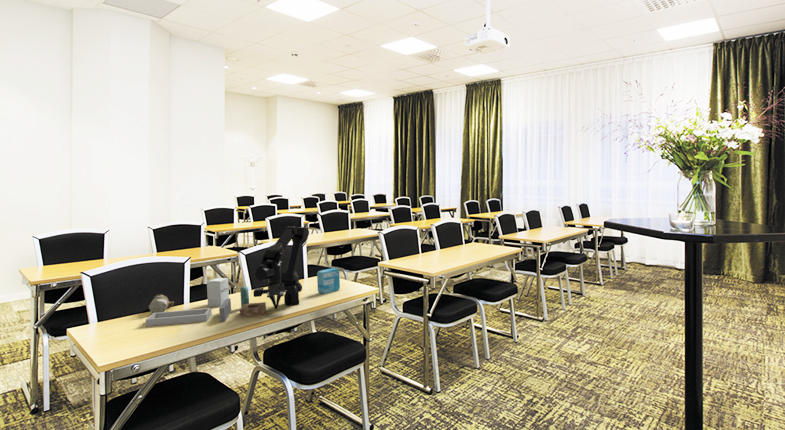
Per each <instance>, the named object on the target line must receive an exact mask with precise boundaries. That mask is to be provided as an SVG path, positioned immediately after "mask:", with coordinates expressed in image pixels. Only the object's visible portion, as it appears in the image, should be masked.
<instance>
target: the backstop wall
mask: <svg viewBox="0 0 785 430" xmlns="http://www.w3.org/2000/svg"><path fill="white" fill-rule="evenodd" d="M231 303H232V301H231V298H229V299H225V301H224V302H223V304H222V305H221V307H219V308H218V310H219V311H218V312H219V322H220V323H222V322H223V323H224V322H226V321H227V319H228V317H229V315H230V314H231V312H232V304H231Z"/></svg>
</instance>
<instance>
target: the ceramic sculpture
mask: <svg viewBox="0 0 785 430" xmlns="http://www.w3.org/2000/svg"><path fill="white" fill-rule="evenodd" d="M174 304H175V301H169V298H168V297H167V296H166V295H163V294H162V293H158V294H156V295H155V296H154V297H153V299H152V300H151V302H150V303H149V305H148V309H149V311H150V312H151V313H152V314H153V313H157V312H166V310H167V308H171V307H172V306H174Z"/></svg>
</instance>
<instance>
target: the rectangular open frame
mask: <svg viewBox="0 0 785 430" xmlns="http://www.w3.org/2000/svg"><path fill="white" fill-rule="evenodd" d="M212 313H213V312H212V308H211V307H208V308H197V309H196V308H195V309H184V310H183V309H182V310H173V311H172V310H171V311H164V312H157V313H152V314H151V315H150V316H148V317H147V318H146V319H145V326H147V327H155V326H154V325H158V326H166V325H168V326H169V325H177V324H188V323H190V324H191V323H201V322H207V321H208V320H209V319H210V317H211V316H212Z"/></svg>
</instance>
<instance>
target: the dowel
mask: <svg viewBox="0 0 785 430" xmlns="http://www.w3.org/2000/svg"><path fill="white" fill-rule="evenodd" d="M239 289H240V305H241V306H240V308H241V307H242V306H243V304H249V303H250V295H249V294H250V293H249V286H241V287H240V288H239Z"/></svg>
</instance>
